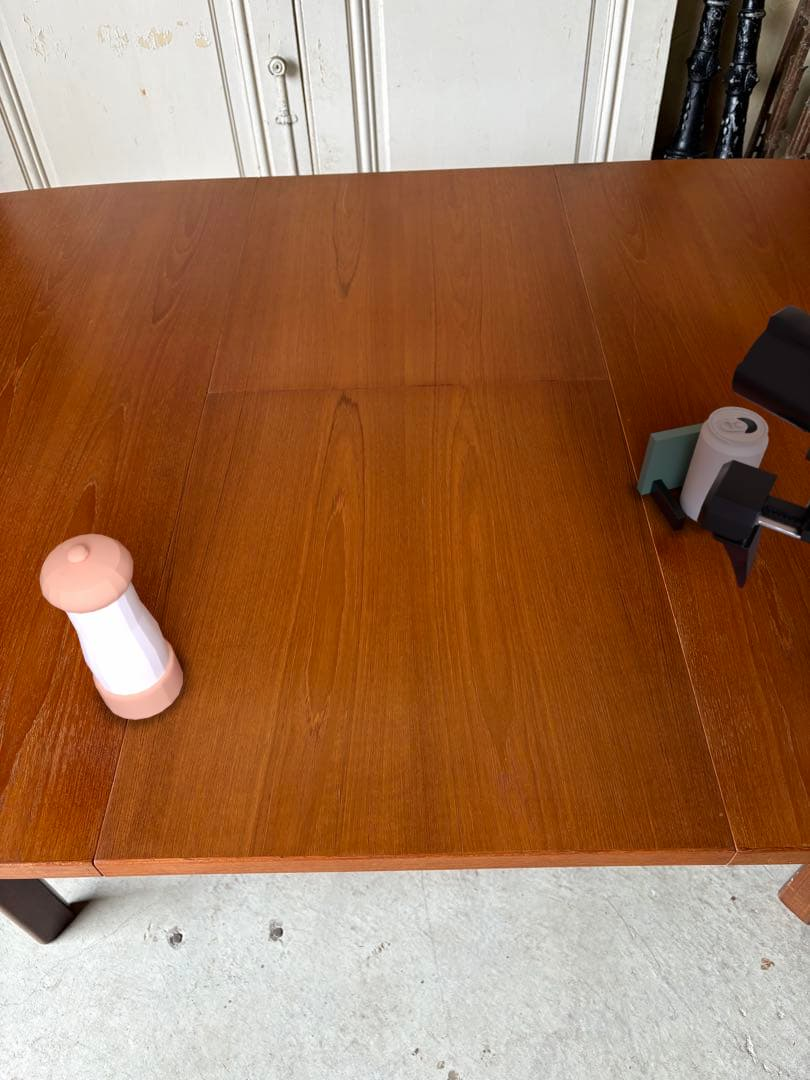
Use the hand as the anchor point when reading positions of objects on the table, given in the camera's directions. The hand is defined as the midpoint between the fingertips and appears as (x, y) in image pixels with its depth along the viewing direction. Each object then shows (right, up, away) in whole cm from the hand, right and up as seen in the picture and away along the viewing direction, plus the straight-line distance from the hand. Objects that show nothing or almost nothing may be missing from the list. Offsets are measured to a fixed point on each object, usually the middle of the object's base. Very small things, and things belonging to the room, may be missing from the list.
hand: (799, 607), depth 65 cm
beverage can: (+2, +9, +24) cm, 25 cm away
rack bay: (+1, +10, +25) cm, 27 cm away
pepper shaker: (-56, -8, +11) cm, 57 cm away
